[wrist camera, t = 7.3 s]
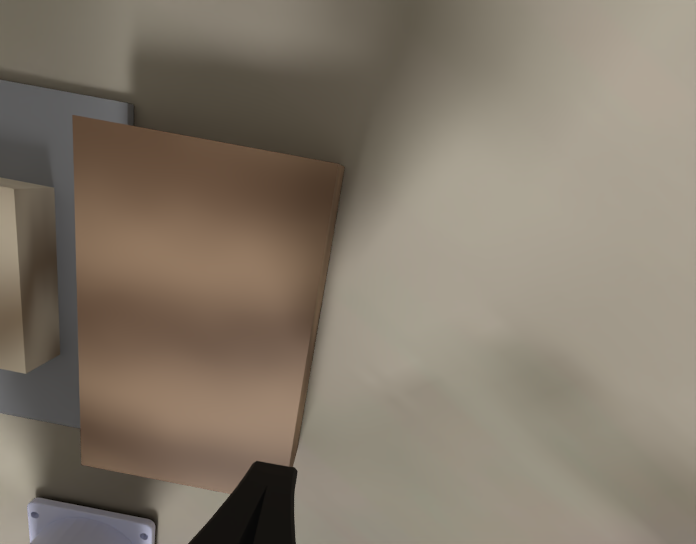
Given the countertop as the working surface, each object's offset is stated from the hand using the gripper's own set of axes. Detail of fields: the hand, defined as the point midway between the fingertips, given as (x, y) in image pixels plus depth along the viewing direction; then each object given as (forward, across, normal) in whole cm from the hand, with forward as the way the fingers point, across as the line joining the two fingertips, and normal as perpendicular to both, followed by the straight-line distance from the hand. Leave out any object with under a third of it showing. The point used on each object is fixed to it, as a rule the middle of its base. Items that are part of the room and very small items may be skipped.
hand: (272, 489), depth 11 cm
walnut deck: (+8, +5, -2) cm, 10 cm away
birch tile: (+6, +17, -2) cm, 18 cm away
